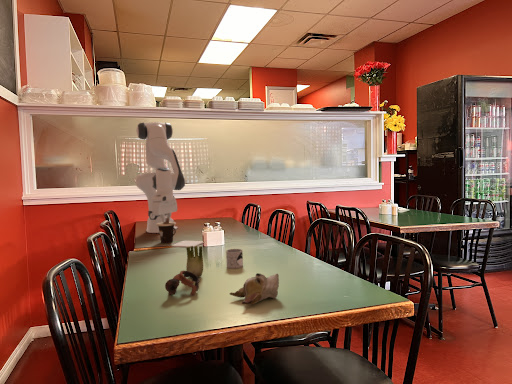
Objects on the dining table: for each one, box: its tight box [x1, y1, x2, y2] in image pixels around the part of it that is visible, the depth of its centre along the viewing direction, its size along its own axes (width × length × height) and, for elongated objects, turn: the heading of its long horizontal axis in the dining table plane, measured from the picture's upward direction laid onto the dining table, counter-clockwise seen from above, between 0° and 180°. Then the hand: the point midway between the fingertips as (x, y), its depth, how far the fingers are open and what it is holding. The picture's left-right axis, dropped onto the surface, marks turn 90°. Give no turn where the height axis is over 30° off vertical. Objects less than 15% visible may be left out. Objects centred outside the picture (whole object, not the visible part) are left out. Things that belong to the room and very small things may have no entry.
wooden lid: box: [157, 218, 177, 226], centre depth 205 cm, size 10×10×3 cm
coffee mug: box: [158, 225, 177, 244], centre depth 205 cm, size 12×9×10 cm
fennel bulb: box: [185, 245, 204, 278], centre depth 137 cm, size 6×5×12 cm
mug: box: [225, 248, 244, 270], centre depth 152 cm, size 10×7×7 cm, turn 168°
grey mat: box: [171, 240, 205, 249], centre depth 198 cm, size 13×13×1 cm
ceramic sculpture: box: [229, 272, 280, 306], centre depth 112 cm, size 11×9×15 cm
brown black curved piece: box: [164, 270, 201, 296], centre depth 119 cm, size 12×10×8 cm
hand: (166, 221), depth 205 cm, fingers closed on wooden lid, 3 cm apart
